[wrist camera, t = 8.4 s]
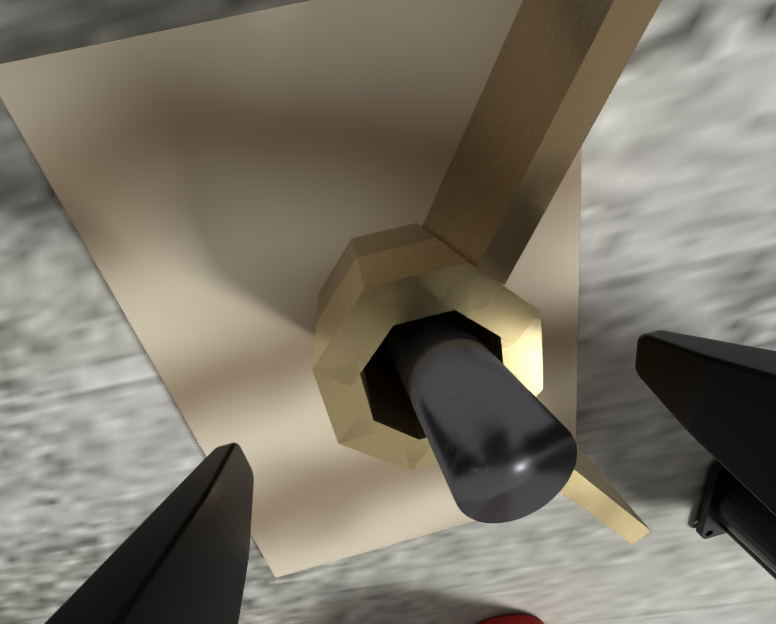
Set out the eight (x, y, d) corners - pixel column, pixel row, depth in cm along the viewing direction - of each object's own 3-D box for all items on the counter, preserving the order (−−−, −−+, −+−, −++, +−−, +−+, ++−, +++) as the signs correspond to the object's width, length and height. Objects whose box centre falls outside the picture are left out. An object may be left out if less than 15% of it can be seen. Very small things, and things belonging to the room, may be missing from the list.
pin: (433, 321, 14) (576, 497, 6) (377, 337, 13) (462, 539, 6) (423, 267, 13) (577, 401, 6) (364, 283, 13) (443, 445, 5)
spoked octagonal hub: (565, 438, 17) (649, 539, 13) (380, 489, 17) (398, 613, 12) (567, -53, 10) (772, -234, 5) (232, 16, 9) (138, -118, 5)
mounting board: (565, 479, 20) (575, 492, 19) (277, 561, 19) (275, 577, 18) (568, -43, 11) (585, -57, 10) (9, 74, 10) (-17, 67, 9)
